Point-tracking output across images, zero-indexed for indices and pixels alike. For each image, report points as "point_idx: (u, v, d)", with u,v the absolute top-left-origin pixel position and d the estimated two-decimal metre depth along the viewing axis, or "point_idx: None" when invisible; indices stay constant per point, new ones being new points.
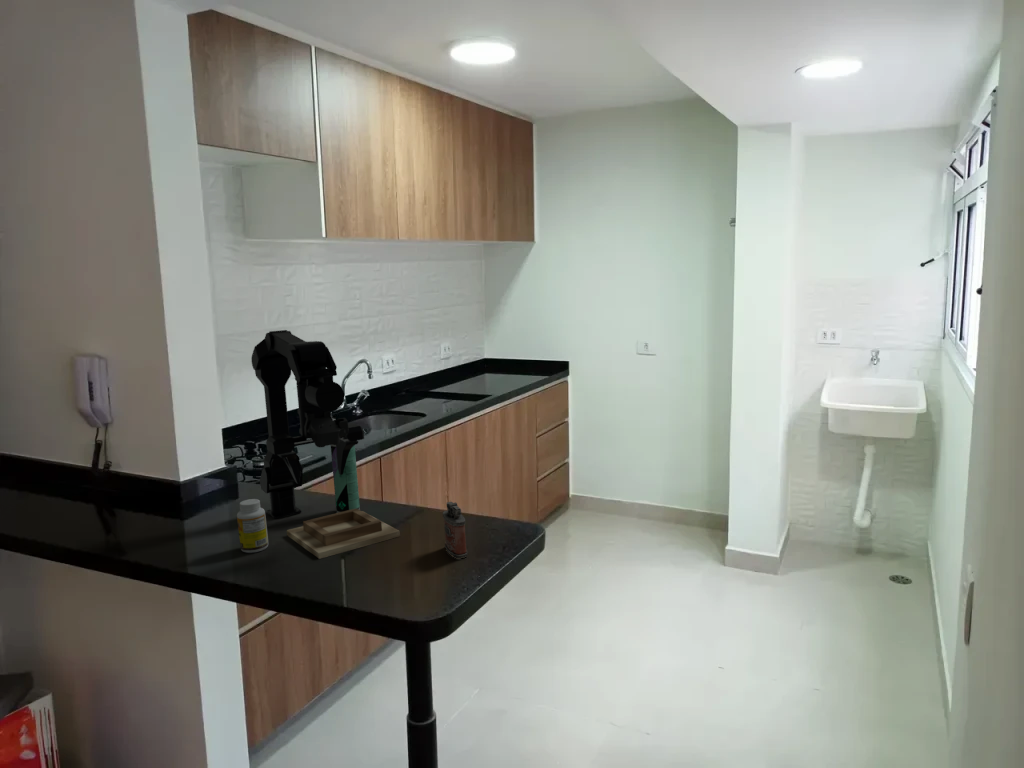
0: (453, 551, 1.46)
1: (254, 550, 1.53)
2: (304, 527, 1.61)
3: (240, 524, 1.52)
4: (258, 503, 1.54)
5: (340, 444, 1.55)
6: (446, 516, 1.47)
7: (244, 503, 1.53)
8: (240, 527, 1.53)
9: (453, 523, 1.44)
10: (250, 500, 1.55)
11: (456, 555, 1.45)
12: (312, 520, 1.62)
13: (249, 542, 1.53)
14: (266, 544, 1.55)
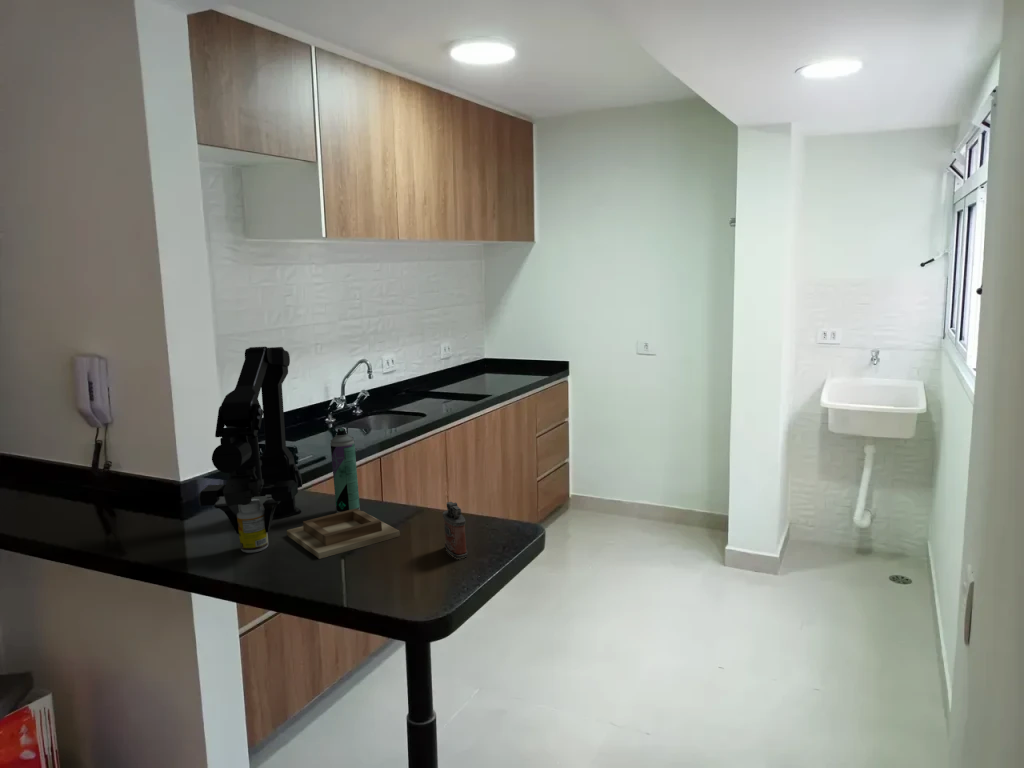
0: (453, 551, 1.46)
1: (254, 550, 1.53)
2: (304, 527, 1.61)
3: (240, 524, 1.52)
4: (258, 503, 1.54)
5: None
6: (446, 516, 1.47)
7: None
8: (240, 526, 1.53)
9: (453, 523, 1.44)
10: None
11: (456, 555, 1.45)
12: (312, 520, 1.62)
13: (249, 542, 1.53)
14: (266, 544, 1.55)
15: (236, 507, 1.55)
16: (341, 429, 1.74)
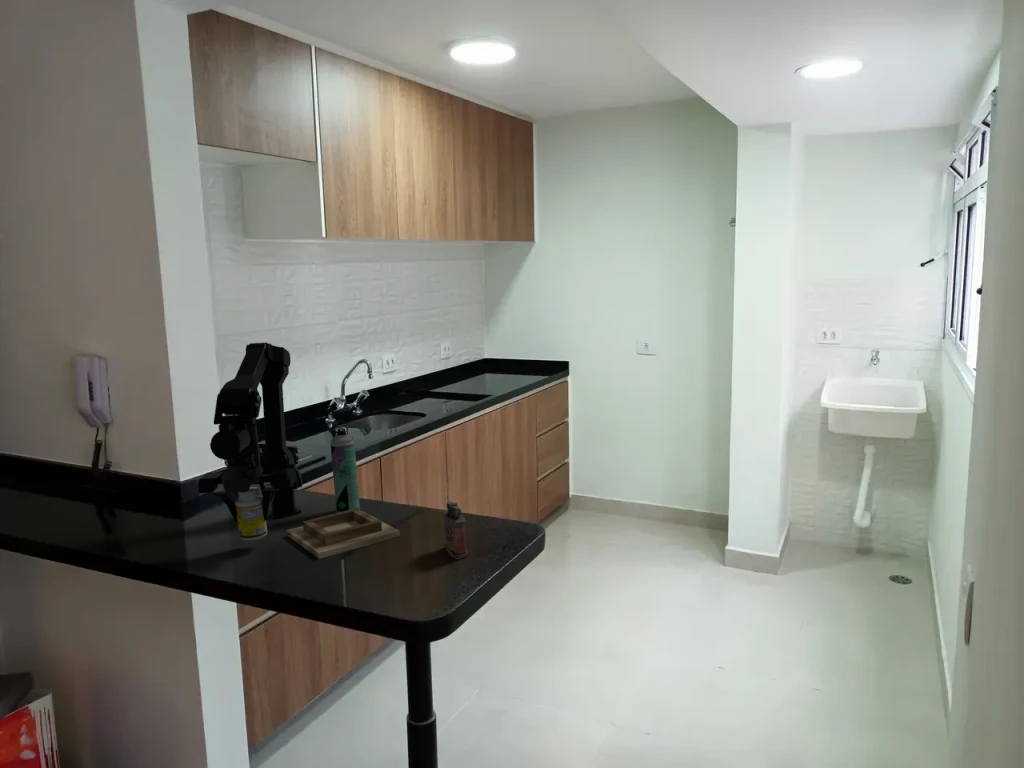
0: (453, 551, 1.46)
1: (253, 538, 1.53)
2: (304, 527, 1.61)
3: (239, 512, 1.52)
4: (257, 491, 1.53)
5: None
6: (446, 516, 1.47)
7: None
8: (238, 514, 1.52)
9: (453, 523, 1.44)
10: None
11: (456, 555, 1.45)
12: (312, 520, 1.62)
13: (248, 530, 1.52)
14: (265, 532, 1.55)
15: (235, 495, 1.55)
16: (341, 429, 1.74)
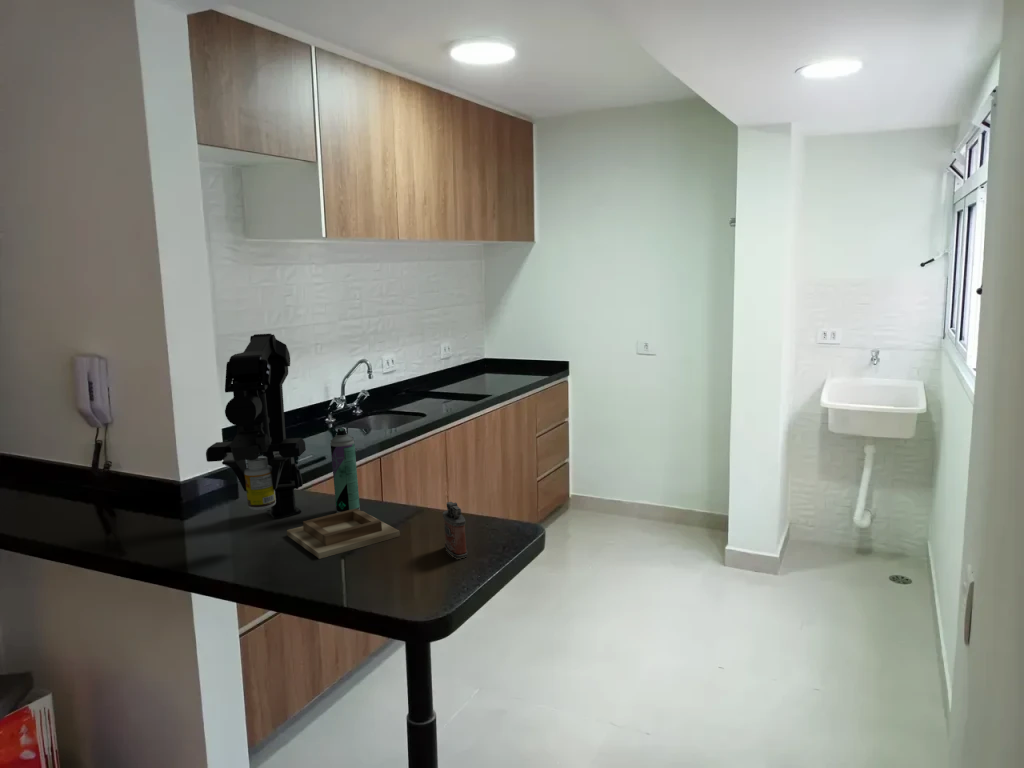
0: (453, 551, 1.46)
1: (261, 507, 1.52)
2: (304, 527, 1.61)
3: (247, 480, 1.52)
4: (265, 460, 1.53)
5: None
6: (446, 516, 1.47)
7: None
8: (247, 483, 1.52)
9: (453, 523, 1.44)
10: (258, 457, 1.54)
11: (456, 555, 1.45)
12: (312, 520, 1.62)
13: (257, 498, 1.52)
14: (273, 501, 1.54)
15: (244, 464, 1.55)
16: (341, 429, 1.74)
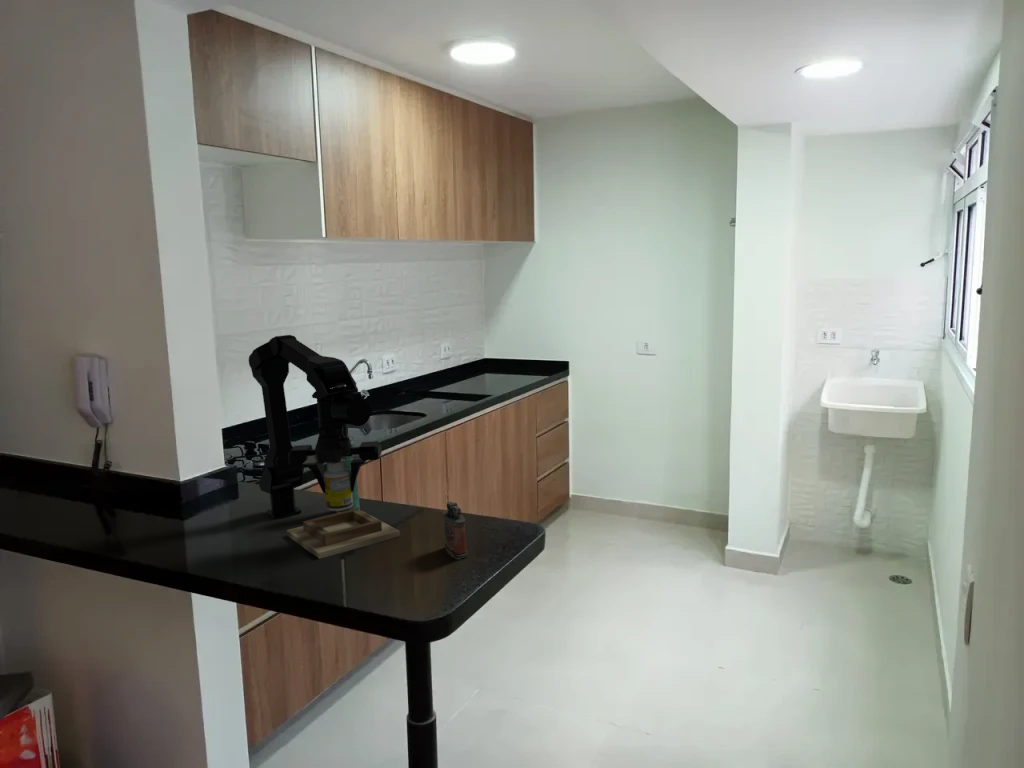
0: (453, 551, 1.46)
1: (341, 508, 1.57)
2: (304, 527, 1.61)
3: (327, 483, 1.56)
4: (344, 463, 1.58)
5: None
6: (446, 516, 1.47)
7: (331, 462, 1.57)
8: (327, 485, 1.57)
9: (453, 523, 1.44)
10: None
11: (456, 555, 1.45)
12: (312, 520, 1.62)
13: (336, 500, 1.57)
14: (351, 503, 1.59)
15: (322, 467, 1.60)
16: None
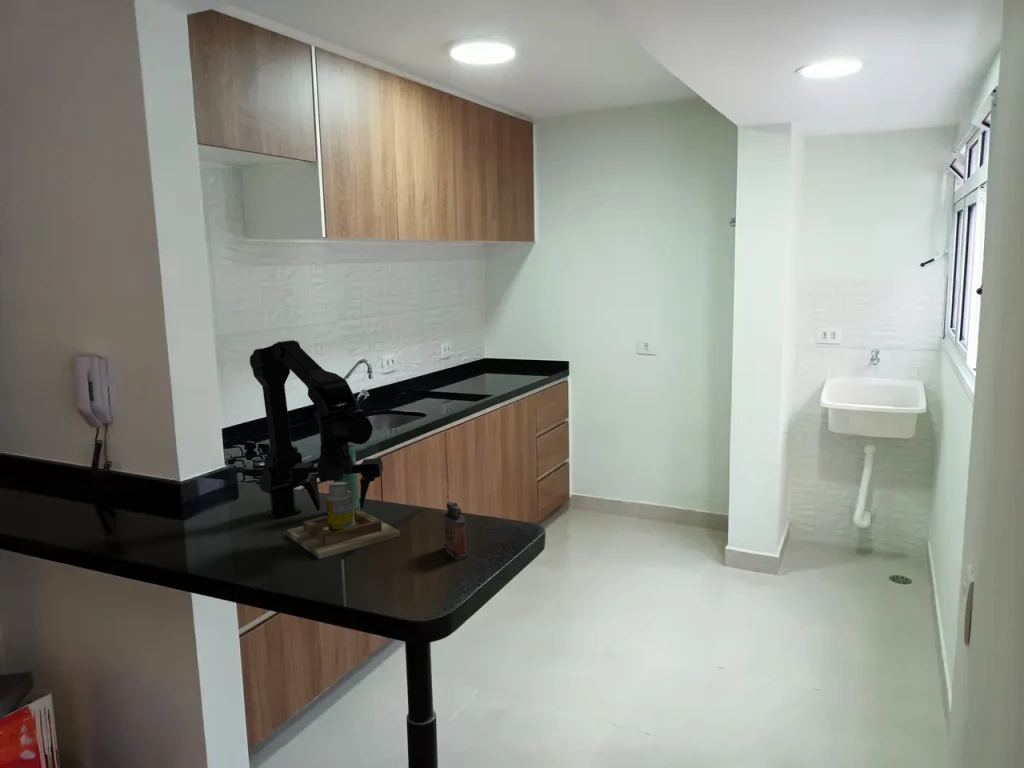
0: (453, 551, 1.46)
1: None
2: (304, 527, 1.61)
3: (330, 506, 1.57)
4: (346, 486, 1.59)
5: None
6: (446, 516, 1.47)
7: (334, 485, 1.58)
8: (329, 508, 1.58)
9: (453, 523, 1.44)
10: (338, 483, 1.60)
11: (456, 555, 1.45)
12: (312, 520, 1.62)
13: (338, 523, 1.57)
14: (353, 526, 1.60)
15: (316, 485, 1.60)
16: None
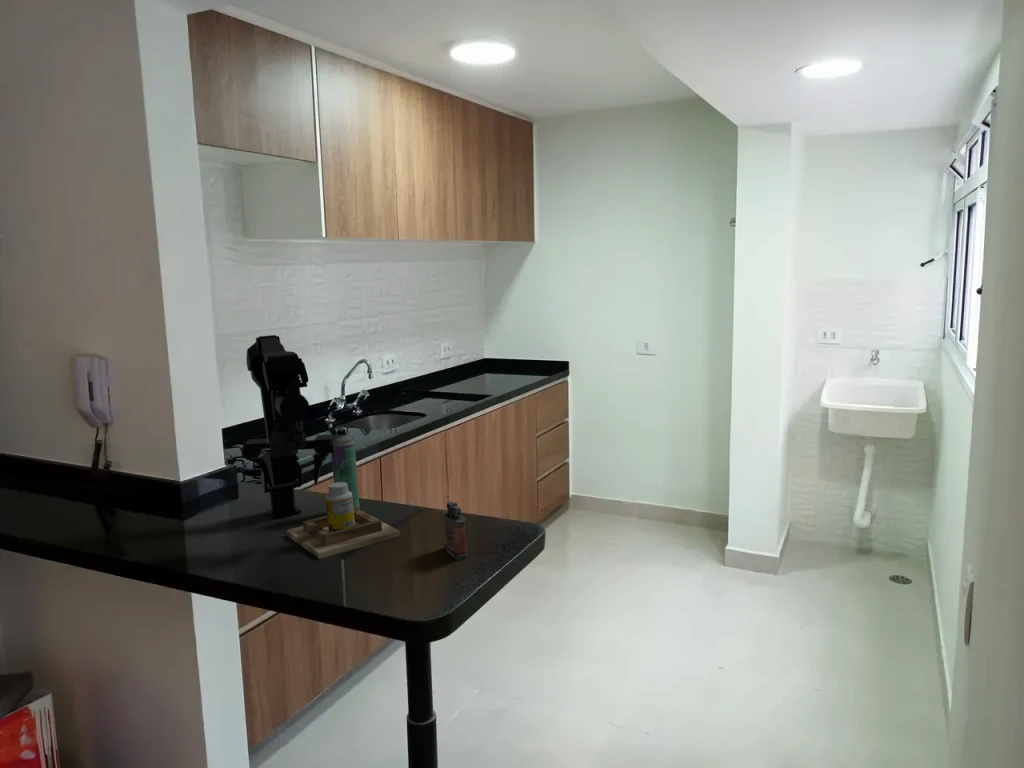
0: (453, 551, 1.46)
1: None
2: (304, 527, 1.61)
3: (329, 506, 1.57)
4: (346, 486, 1.59)
5: None
6: (446, 516, 1.47)
7: (333, 485, 1.58)
8: (329, 508, 1.57)
9: (453, 523, 1.44)
10: (338, 483, 1.60)
11: (456, 555, 1.45)
12: (312, 520, 1.62)
13: (338, 523, 1.57)
14: (353, 526, 1.60)
15: (269, 461, 1.59)
16: (341, 429, 1.74)
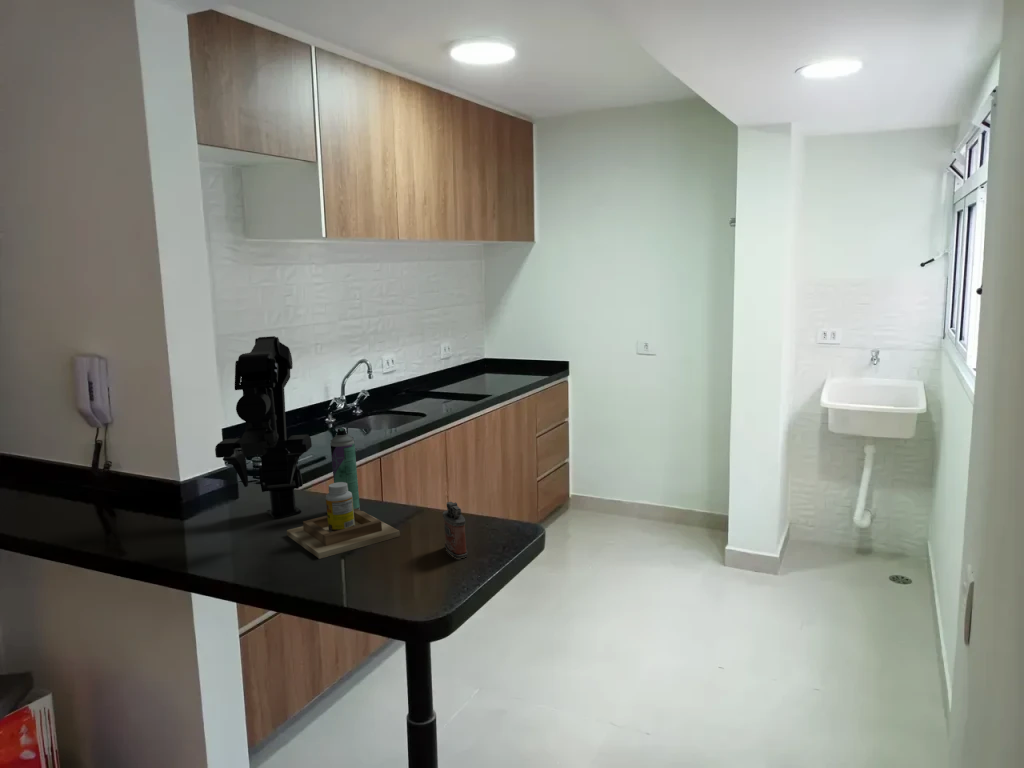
0: (453, 551, 1.46)
1: None
2: (304, 527, 1.61)
3: (330, 506, 1.57)
4: (346, 486, 1.59)
5: None
6: (446, 516, 1.47)
7: (333, 485, 1.58)
8: (329, 509, 1.57)
9: (453, 523, 1.44)
10: (338, 483, 1.60)
11: (456, 555, 1.45)
12: (312, 520, 1.62)
13: (338, 523, 1.57)
14: (353, 526, 1.60)
15: (244, 461, 1.59)
16: (341, 429, 1.74)
